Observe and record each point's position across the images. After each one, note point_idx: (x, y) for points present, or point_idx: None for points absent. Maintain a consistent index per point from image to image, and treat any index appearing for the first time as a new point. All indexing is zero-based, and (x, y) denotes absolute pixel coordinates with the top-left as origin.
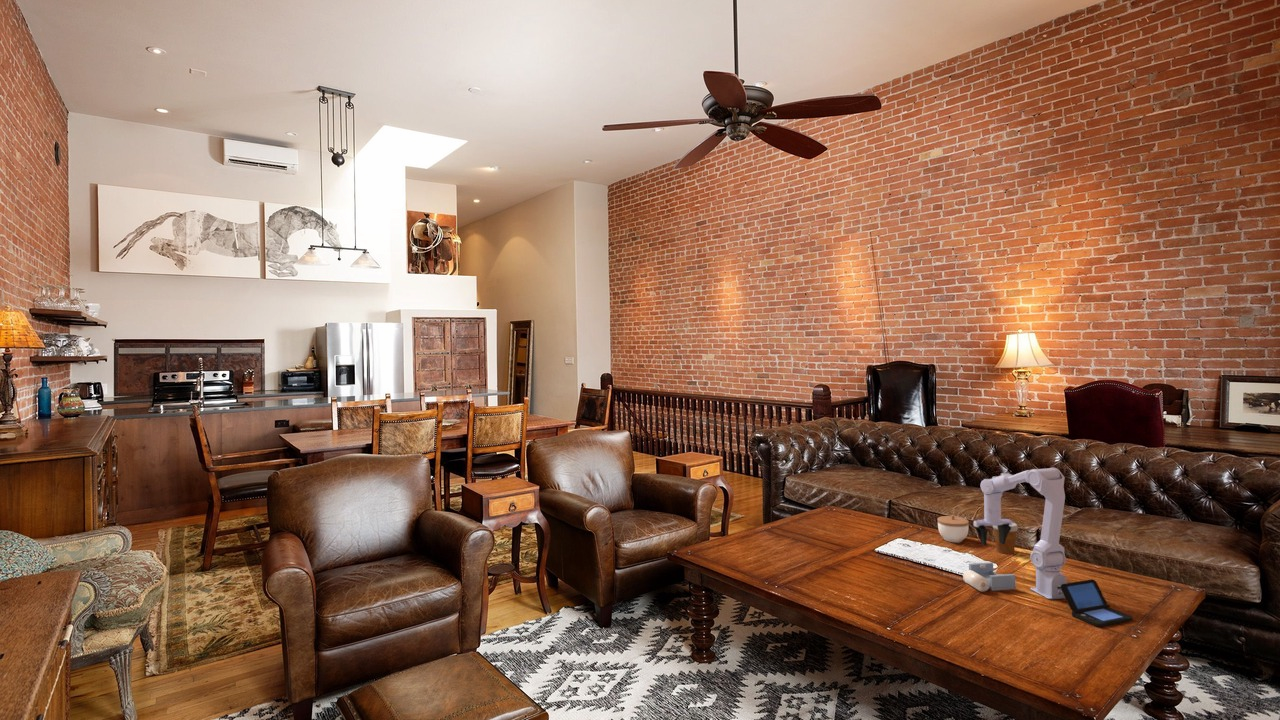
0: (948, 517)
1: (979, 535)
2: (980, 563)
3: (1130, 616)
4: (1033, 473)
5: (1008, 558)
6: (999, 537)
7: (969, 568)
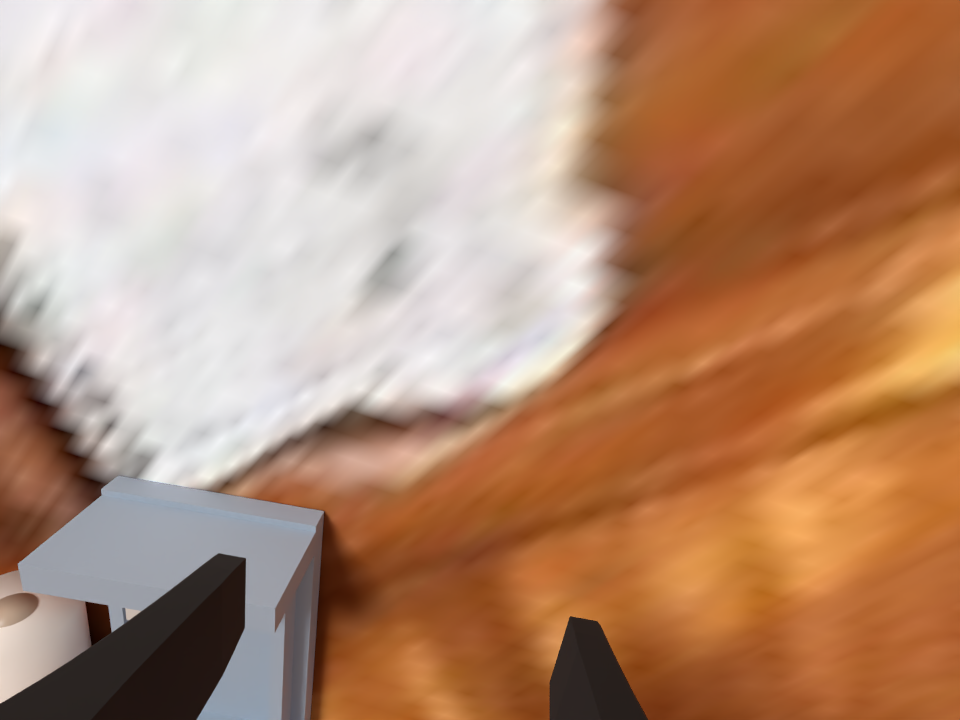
0: None
1: (72, 679)
2: (141, 598)
3: None
4: None
5: (901, 224)
6: (586, 703)
7: (60, 537)
